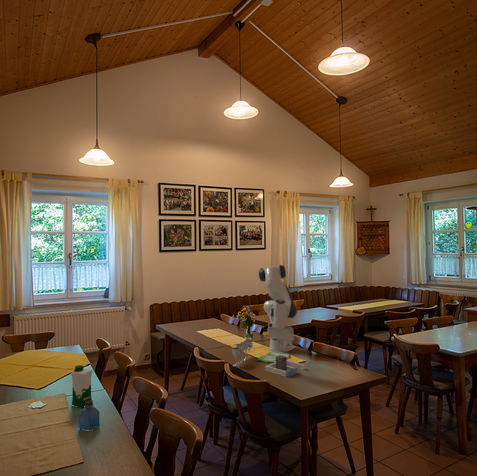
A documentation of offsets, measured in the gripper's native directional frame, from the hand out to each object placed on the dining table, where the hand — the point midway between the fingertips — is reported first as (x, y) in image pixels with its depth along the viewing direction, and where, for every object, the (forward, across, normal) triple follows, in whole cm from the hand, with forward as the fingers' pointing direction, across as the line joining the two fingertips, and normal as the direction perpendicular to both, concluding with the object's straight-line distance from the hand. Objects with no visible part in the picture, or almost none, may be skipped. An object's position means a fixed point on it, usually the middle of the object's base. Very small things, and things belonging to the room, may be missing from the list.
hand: (280, 345), depth 248 cm
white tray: (+17, 0, -5) cm, 18 cm away
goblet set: (+17, +36, 0) cm, 40 cm away
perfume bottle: (+18, +15, +122) cm, 124 cm away
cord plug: (+17, 0, 0) cm, 17 cm away
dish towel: (+18, +22, -19) cm, 34 cm away
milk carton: (+18, +43, +114) cm, 123 cm away
